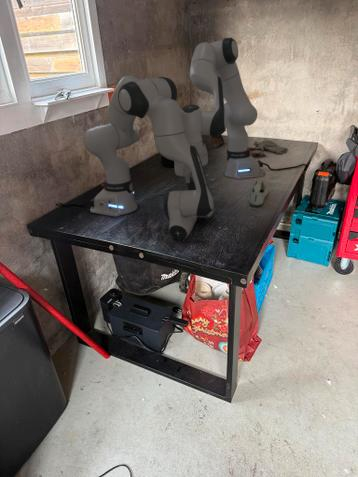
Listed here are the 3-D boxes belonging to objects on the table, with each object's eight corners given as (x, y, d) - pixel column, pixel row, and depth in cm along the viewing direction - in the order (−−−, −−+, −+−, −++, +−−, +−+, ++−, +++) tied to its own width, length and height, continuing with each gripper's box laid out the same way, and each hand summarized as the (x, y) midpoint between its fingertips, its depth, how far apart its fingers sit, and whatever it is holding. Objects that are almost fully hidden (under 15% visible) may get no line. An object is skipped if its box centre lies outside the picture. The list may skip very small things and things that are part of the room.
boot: (224, 140, 260) (225, 113, 250) (221, 148, 240) (222, 119, 230) (213, 140, 262) (213, 113, 252) (210, 148, 242) (209, 119, 232)
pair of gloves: (252, 159, 212) (252, 151, 209) (231, 150, 233) (231, 143, 230) (289, 152, 222) (290, 144, 219) (266, 144, 242) (267, 137, 240)
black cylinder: (197, 209, 152) (196, 174, 143) (200, 214, 148) (199, 178, 139) (187, 211, 151) (186, 175, 143) (189, 215, 147) (188, 179, 139)
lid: (187, 177, 145) (187, 173, 144) (200, 177, 143) (199, 173, 142) (185, 182, 140) (185, 177, 139) (198, 182, 139) (198, 177, 138)
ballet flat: (269, 188, 169) (270, 173, 165) (265, 208, 149) (266, 191, 145) (252, 187, 171) (253, 172, 167) (246, 206, 151) (247, 190, 147)
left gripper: (211, 209, 132) (216, 195, 144) (163, 206, 137) (171, 193, 148) (212, 223, 135) (216, 209, 147) (164, 220, 140) (172, 206, 152)
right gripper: (199, 141, 144) (199, 171, 151) (170, 153, 130) (173, 186, 136) (211, 142, 140) (211, 174, 147) (183, 155, 126) (185, 189, 133)
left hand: (193, 201), depth 148 cm, fingers closed on black cylinder, 5 cm apart
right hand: (192, 180), depth 142 cm, fingers closed on lid, 5 cm apart
